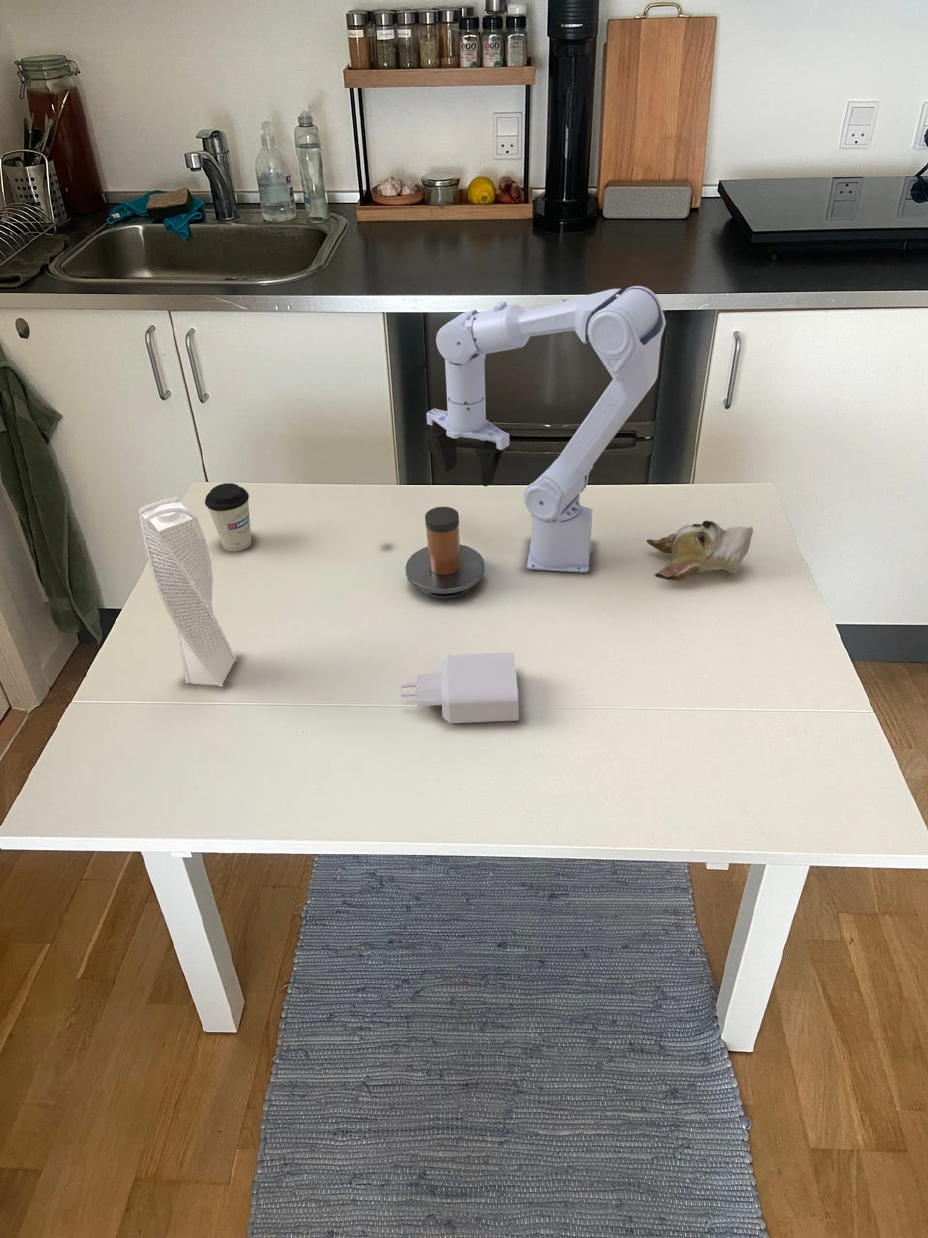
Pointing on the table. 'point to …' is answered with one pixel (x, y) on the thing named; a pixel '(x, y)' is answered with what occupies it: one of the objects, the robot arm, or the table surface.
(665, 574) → the ceramic sculpture
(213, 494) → the coffee cup
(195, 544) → the skyscraper
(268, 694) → the table surface
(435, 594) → the steel stand
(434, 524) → the spice jar
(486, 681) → the charger
